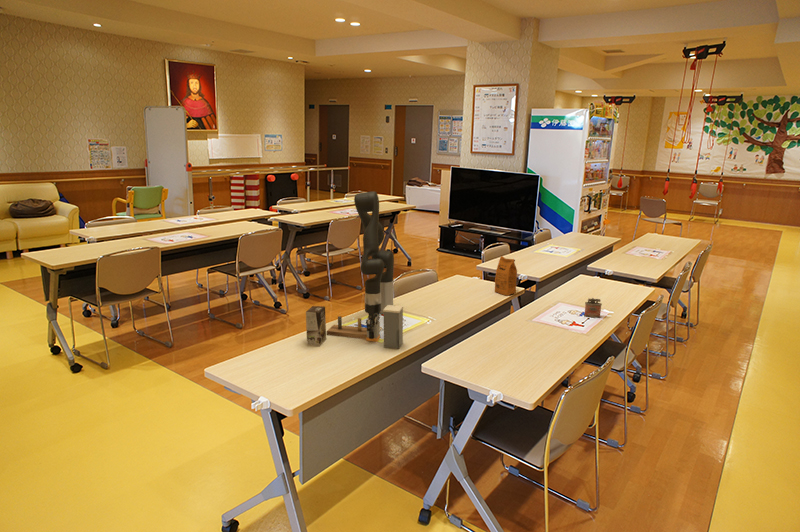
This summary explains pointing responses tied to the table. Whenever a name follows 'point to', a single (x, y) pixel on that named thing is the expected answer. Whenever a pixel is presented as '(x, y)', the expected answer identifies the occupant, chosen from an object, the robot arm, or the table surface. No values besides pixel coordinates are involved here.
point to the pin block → (348, 330)
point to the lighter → (593, 308)
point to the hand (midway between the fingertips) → (373, 336)
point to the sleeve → (376, 333)
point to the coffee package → (506, 277)
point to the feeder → (393, 326)
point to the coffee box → (316, 325)
